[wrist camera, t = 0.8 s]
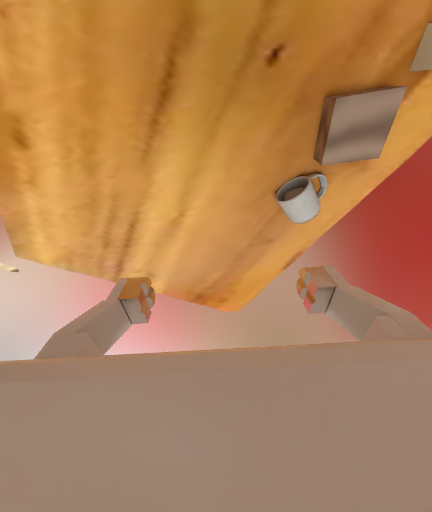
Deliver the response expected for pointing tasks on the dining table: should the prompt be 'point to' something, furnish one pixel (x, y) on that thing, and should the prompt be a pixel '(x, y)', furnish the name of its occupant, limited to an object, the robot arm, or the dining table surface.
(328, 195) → the dining table surface
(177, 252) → the dining table surface
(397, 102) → the walnut block
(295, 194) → the ceramic mug
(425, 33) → the sage block
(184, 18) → the dining table surface
